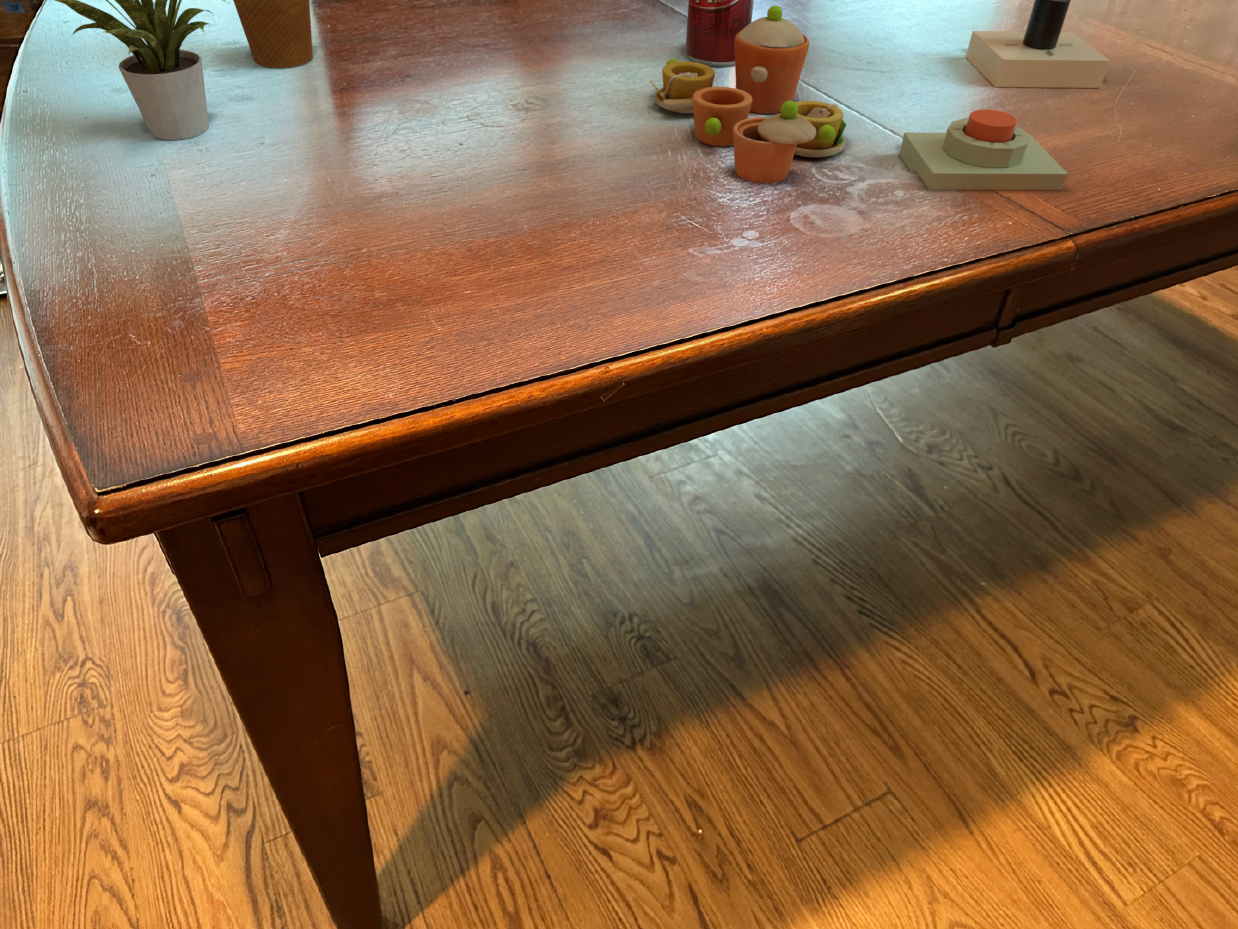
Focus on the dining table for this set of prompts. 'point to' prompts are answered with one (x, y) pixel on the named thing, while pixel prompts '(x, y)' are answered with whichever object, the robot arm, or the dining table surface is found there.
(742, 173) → the toy tea set
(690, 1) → the soda can
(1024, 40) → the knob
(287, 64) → the disposable coffee cup
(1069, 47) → the beige slotted block
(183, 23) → the house plant
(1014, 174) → the button housing
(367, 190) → the dining table surface
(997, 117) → the button
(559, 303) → the dining table surface
